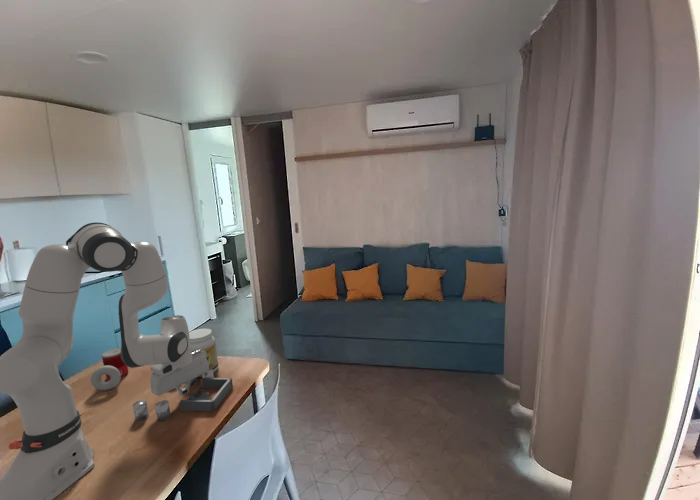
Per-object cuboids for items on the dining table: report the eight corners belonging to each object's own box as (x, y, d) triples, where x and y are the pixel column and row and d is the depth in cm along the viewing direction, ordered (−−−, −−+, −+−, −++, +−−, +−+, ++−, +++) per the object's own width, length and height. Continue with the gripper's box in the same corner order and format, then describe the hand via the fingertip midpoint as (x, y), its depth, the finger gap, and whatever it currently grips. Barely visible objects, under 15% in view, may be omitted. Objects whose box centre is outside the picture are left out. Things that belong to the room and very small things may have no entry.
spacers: (180, 421, 115) (178, 407, 115) (129, 420, 117) (127, 407, 116) (216, 379, 140) (214, 368, 139) (173, 379, 142) (171, 368, 141)
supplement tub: (186, 381, 140) (180, 341, 137) (189, 367, 152) (183, 330, 149) (218, 374, 144) (213, 335, 141) (219, 361, 155) (214, 325, 152)
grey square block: (196, 408, 122) (195, 400, 122) (189, 403, 125) (187, 395, 125) (209, 400, 126) (208, 392, 126) (202, 396, 129) (200, 388, 129)
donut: (124, 384, 141) (119, 361, 139) (121, 389, 137) (117, 365, 136) (94, 390, 138) (90, 366, 136) (91, 395, 134) (86, 371, 133)
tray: (214, 411, 120) (212, 401, 119) (181, 410, 121) (179, 401, 121) (232, 386, 135) (231, 378, 134) (203, 386, 136) (202, 378, 135)
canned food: (132, 371, 151) (128, 347, 149) (119, 381, 143) (114, 356, 141) (116, 371, 152) (112, 347, 150) (101, 381, 144) (97, 356, 142)
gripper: (200, 345, 136) (205, 378, 138) (145, 368, 120) (151, 405, 122) (210, 349, 132) (214, 382, 135) (154, 373, 116) (160, 411, 118)
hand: (184, 393), depth 128 cm, fingers closed
